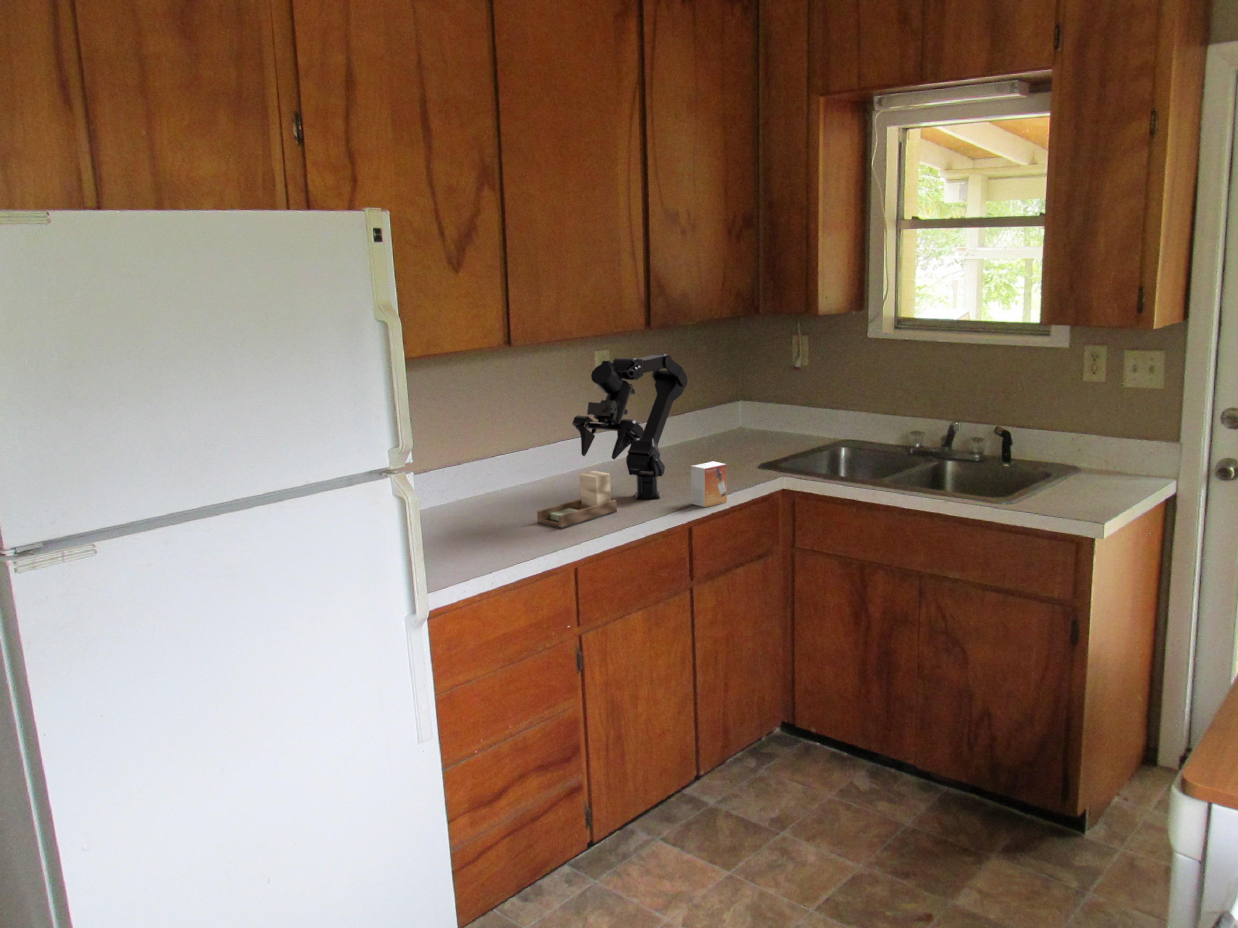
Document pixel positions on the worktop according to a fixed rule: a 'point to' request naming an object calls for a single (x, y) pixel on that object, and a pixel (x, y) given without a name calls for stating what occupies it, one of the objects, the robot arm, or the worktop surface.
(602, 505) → the track
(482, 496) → the worktop surface
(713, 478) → the small box
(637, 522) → the worktop surface
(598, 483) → the block
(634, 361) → the robot arm
